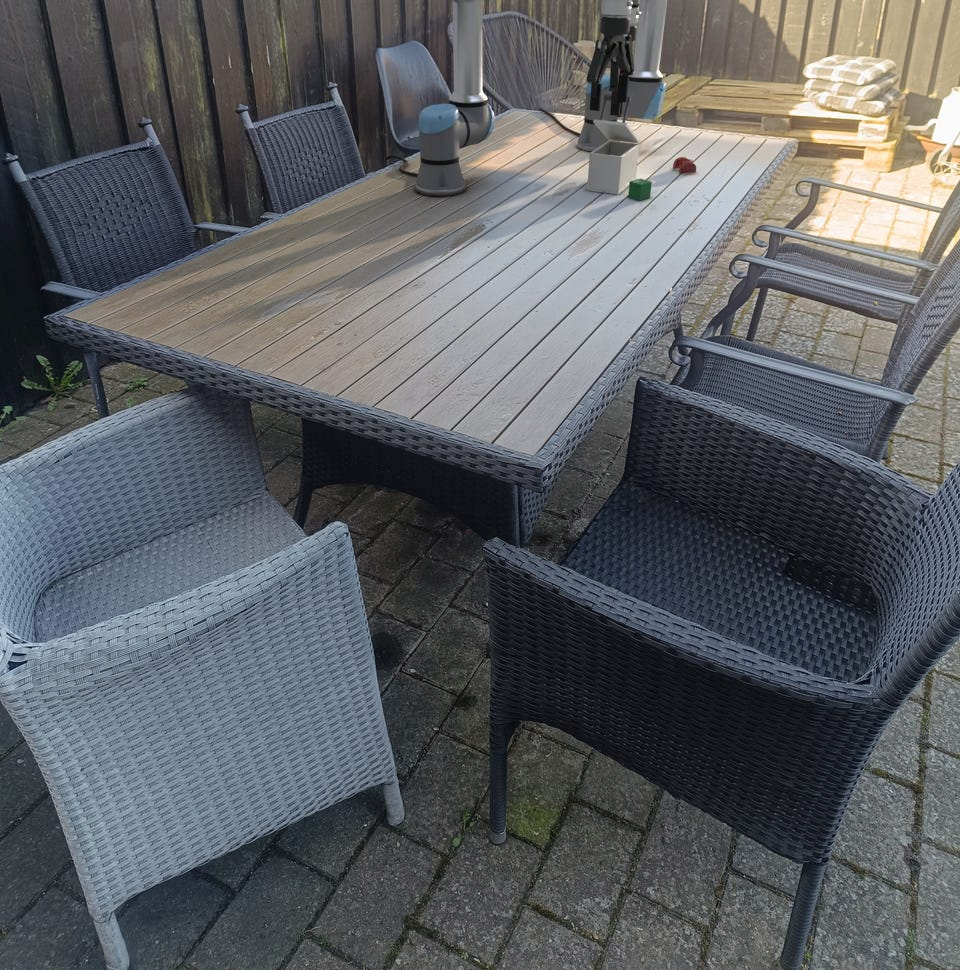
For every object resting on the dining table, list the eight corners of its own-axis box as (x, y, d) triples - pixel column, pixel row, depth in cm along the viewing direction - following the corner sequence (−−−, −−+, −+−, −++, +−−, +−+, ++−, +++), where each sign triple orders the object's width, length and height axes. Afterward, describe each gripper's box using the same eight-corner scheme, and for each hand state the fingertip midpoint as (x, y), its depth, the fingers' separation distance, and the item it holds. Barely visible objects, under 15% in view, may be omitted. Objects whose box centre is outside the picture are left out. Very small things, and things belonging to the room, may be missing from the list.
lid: (625, 125, 244) (633, 94, 242) (593, 122, 248) (600, 91, 246) (639, 143, 260) (646, 114, 259) (608, 140, 264) (615, 110, 262)
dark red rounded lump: (688, 153, 276) (699, 160, 270) (686, 166, 279) (697, 173, 272) (672, 155, 275) (682, 161, 269) (670, 168, 278) (681, 175, 271)
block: (639, 200, 250) (641, 184, 247) (628, 196, 253) (629, 181, 250) (650, 197, 252) (651, 181, 249) (638, 194, 255) (640, 178, 252)
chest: (618, 194, 254) (621, 157, 248) (586, 190, 258) (589, 153, 252) (635, 179, 267) (639, 143, 261) (605, 176, 271) (608, 140, 264)
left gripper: (602, 22, 204) (595, 116, 216) (653, 12, 219) (644, 100, 232) (576, 19, 207) (570, 112, 220) (628, 10, 223) (620, 96, 236)
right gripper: (628, 28, 229) (620, 120, 242) (645, 22, 239) (636, 111, 253) (602, 26, 231) (595, 118, 245) (619, 20, 242) (612, 108, 256)
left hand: (608, 106), depth 226 cm, fingers open, 13 cm apart
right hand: (616, 114), depth 249 cm, fingers closed on lid, 2 cm apart
